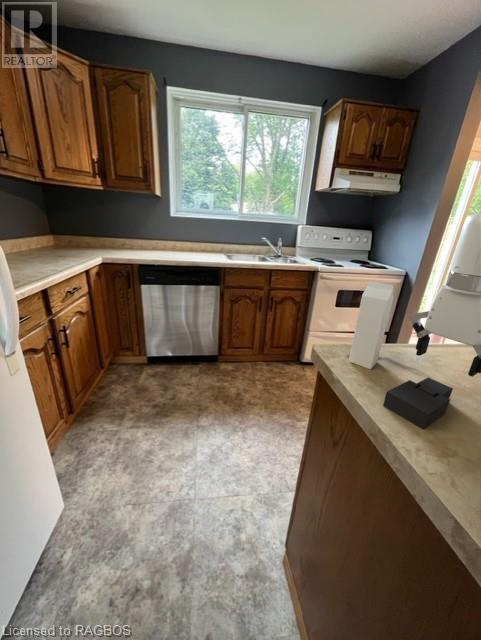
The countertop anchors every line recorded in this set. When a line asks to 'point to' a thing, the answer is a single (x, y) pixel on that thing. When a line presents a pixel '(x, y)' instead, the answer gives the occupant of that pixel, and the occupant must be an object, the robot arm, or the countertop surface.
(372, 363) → the milk
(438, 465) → the countertop surface
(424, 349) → the robot arm
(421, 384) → the black rectangular block
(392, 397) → the black notched block
